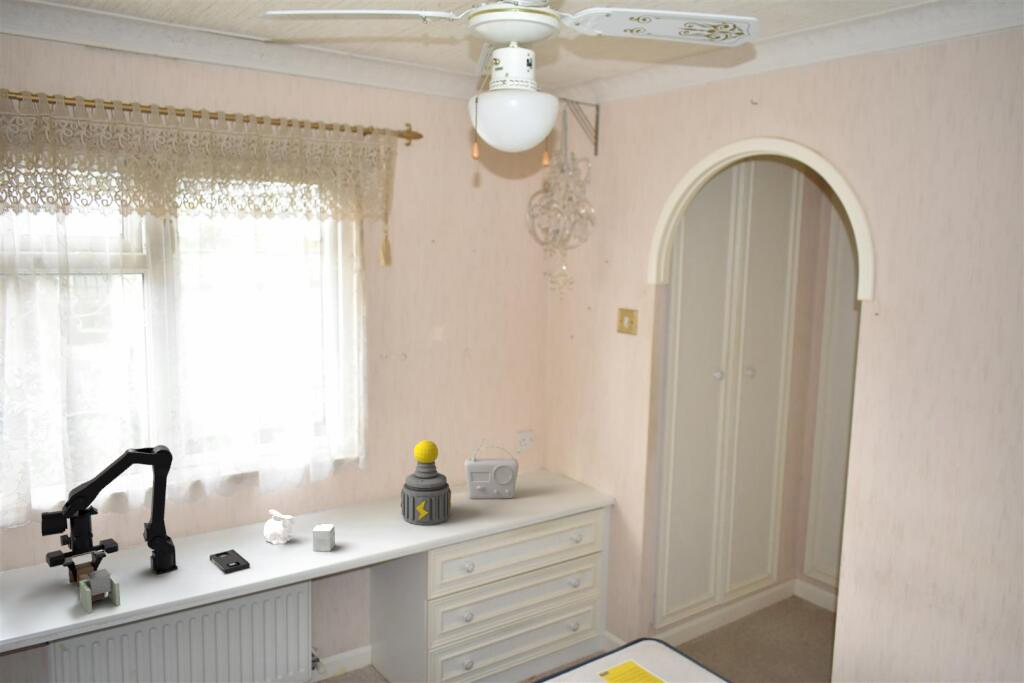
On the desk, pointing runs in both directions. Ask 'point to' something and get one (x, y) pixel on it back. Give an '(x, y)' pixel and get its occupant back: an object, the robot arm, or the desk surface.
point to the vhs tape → (229, 561)
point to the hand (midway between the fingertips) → (84, 579)
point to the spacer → (98, 581)
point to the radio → (491, 477)
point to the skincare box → (323, 537)
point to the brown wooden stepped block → (84, 577)
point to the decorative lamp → (426, 489)
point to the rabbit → (278, 528)
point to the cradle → (113, 594)
